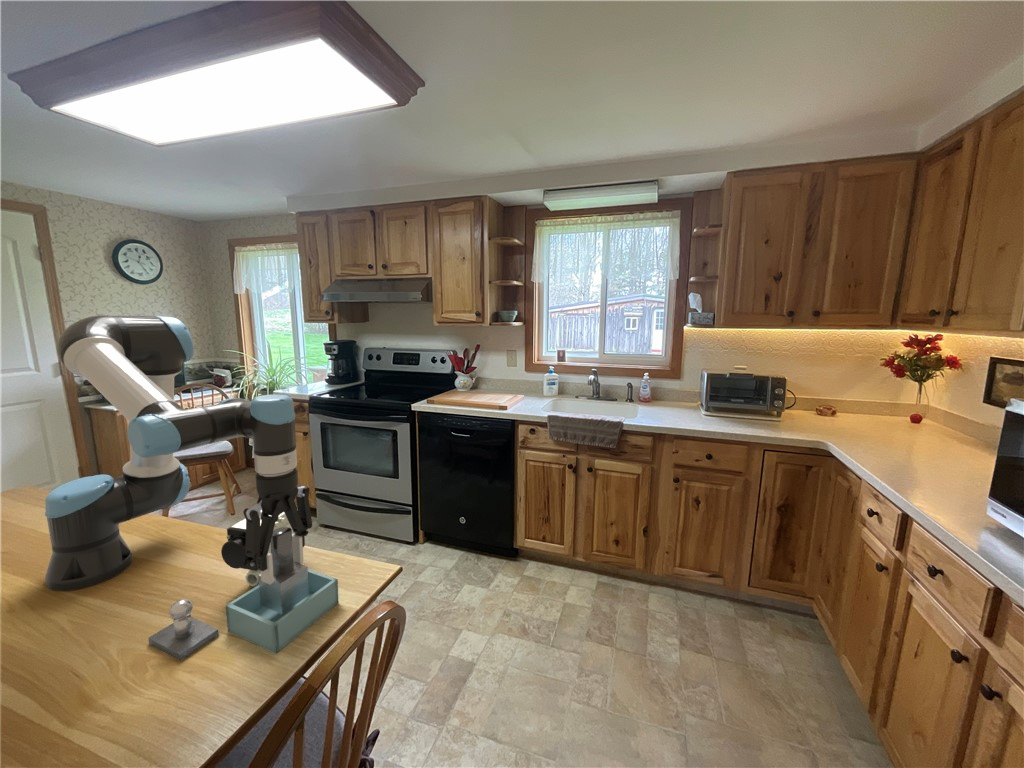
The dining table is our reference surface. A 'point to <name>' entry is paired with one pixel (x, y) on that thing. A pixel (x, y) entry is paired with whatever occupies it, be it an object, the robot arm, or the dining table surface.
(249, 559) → the ball valve
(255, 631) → the bin
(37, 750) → the dining table surface
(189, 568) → the dining table surface
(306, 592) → the block with domed cylinder
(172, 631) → the stud plate
